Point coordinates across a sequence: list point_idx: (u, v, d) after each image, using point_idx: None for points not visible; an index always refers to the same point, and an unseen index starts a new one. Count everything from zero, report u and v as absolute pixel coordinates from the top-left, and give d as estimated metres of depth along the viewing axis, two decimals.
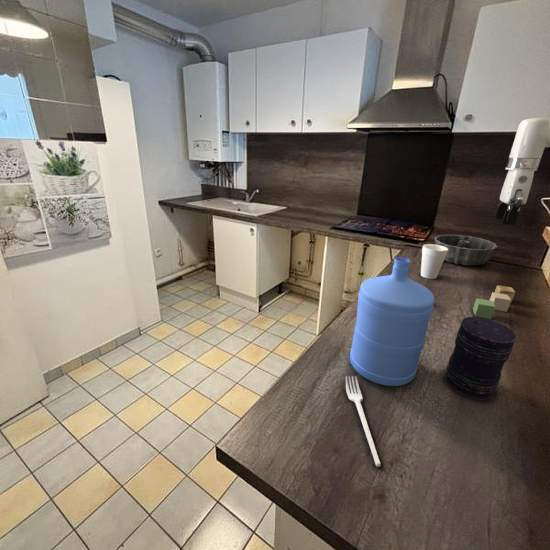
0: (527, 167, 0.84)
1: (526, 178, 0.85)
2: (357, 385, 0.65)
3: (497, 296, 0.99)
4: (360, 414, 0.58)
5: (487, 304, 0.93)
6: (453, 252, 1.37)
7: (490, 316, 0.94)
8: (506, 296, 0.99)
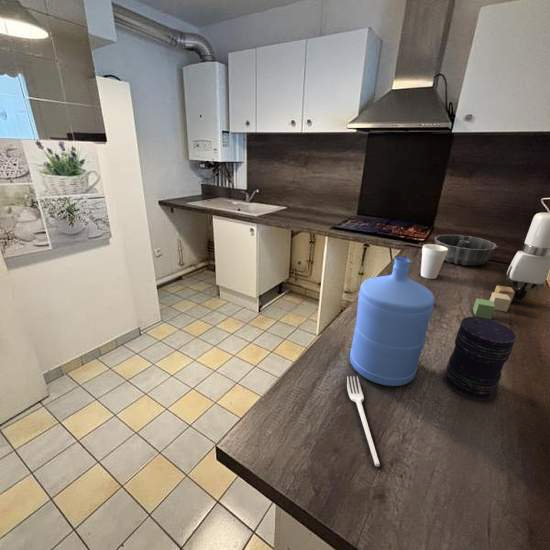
0: None
1: None
2: (358, 385, 0.65)
3: (497, 296, 0.99)
4: (360, 414, 0.58)
5: (487, 304, 0.93)
6: (453, 252, 1.37)
7: (490, 316, 0.94)
8: (506, 296, 0.99)
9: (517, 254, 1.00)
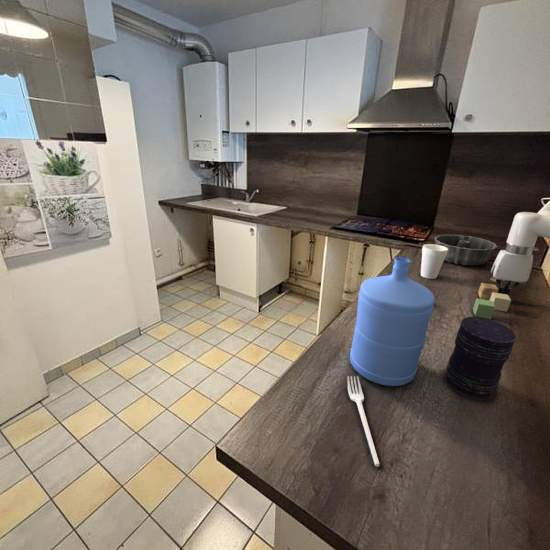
0: None
1: None
2: (359, 385, 0.65)
3: (497, 296, 0.99)
4: (361, 414, 0.58)
5: (487, 304, 0.93)
6: (453, 252, 1.37)
7: (490, 316, 0.94)
8: (506, 296, 0.99)
9: (500, 253, 1.02)
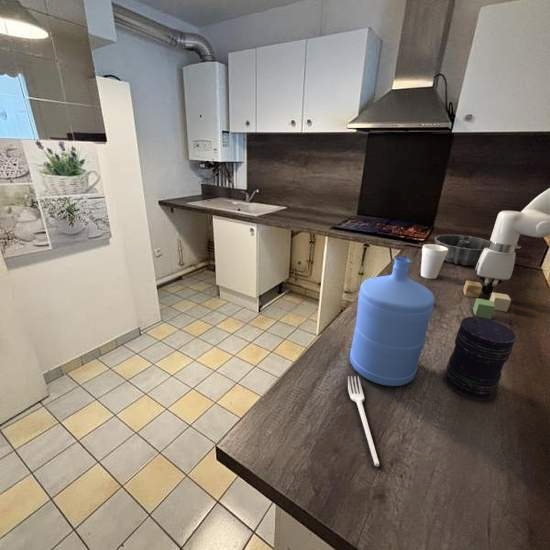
0: None
1: None
2: (359, 385, 0.65)
3: (497, 296, 0.99)
4: (361, 414, 0.58)
5: (487, 304, 0.93)
6: (453, 252, 1.37)
7: (490, 316, 0.94)
8: (506, 296, 0.99)
9: (484, 251, 1.04)
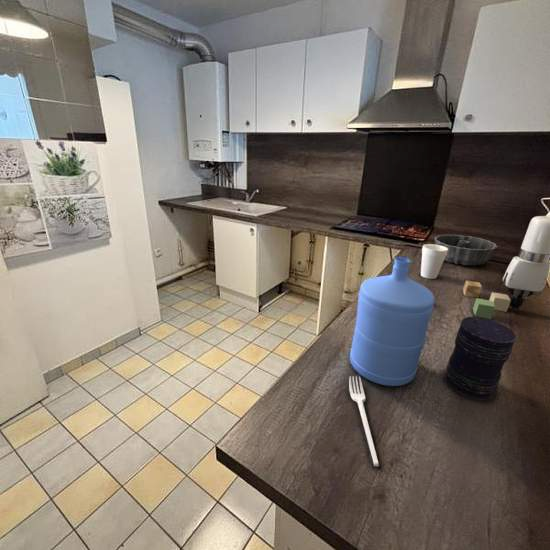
0: None
1: None
2: (361, 385, 0.65)
3: (496, 296, 0.99)
4: (361, 414, 0.58)
5: (487, 304, 0.93)
6: (453, 252, 1.37)
7: (490, 316, 0.94)
8: (506, 296, 0.99)
9: (513, 260, 0.95)
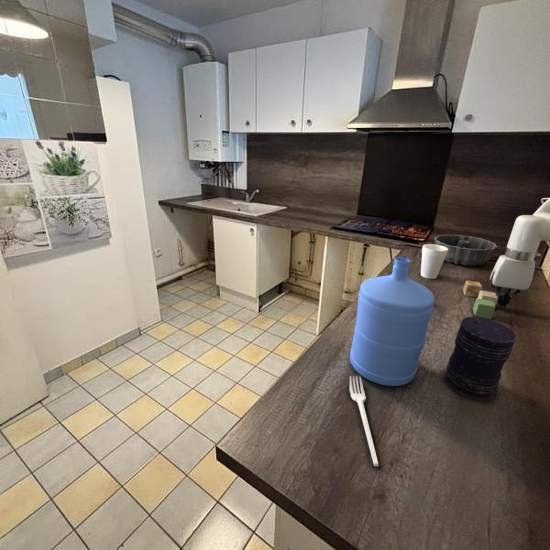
0: None
1: None
2: (361, 385, 0.65)
3: (484, 294, 1.01)
4: (362, 414, 0.58)
5: (487, 304, 0.93)
6: (453, 252, 1.37)
7: (490, 316, 0.94)
8: (493, 294, 1.01)
9: (500, 258, 0.96)
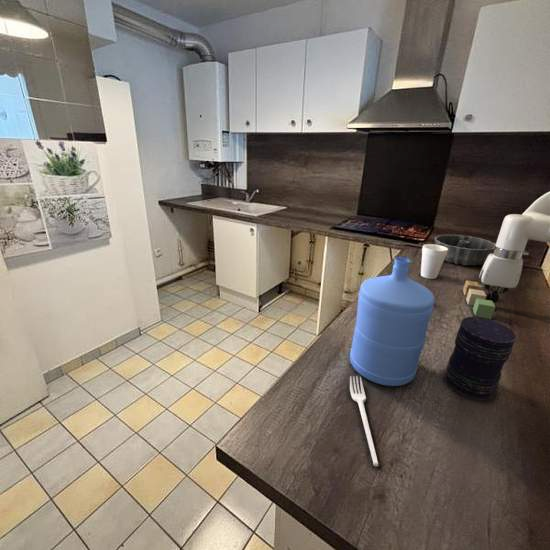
0: None
1: None
2: (361, 385, 0.65)
3: (473, 292, 1.02)
4: (362, 414, 0.58)
5: (487, 304, 0.93)
6: (453, 252, 1.37)
7: (490, 316, 0.94)
8: (482, 292, 1.02)
9: (488, 257, 0.97)
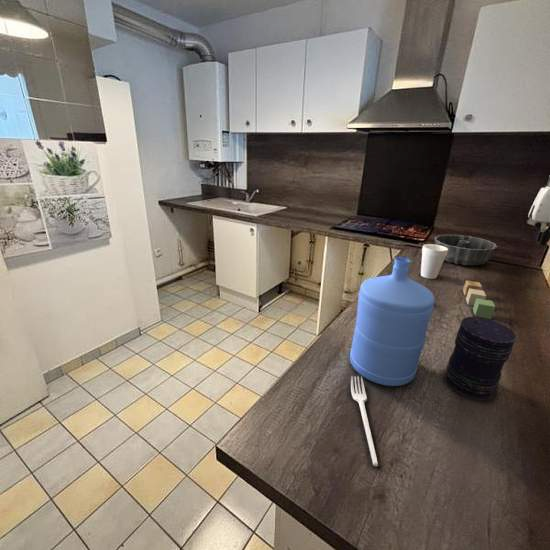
0: None
1: None
2: (362, 386, 0.65)
3: (473, 292, 1.02)
4: (362, 414, 0.58)
5: (487, 304, 0.93)
6: (453, 252, 1.37)
7: (490, 316, 0.94)
8: (482, 292, 1.02)
9: (541, 190, 0.88)
